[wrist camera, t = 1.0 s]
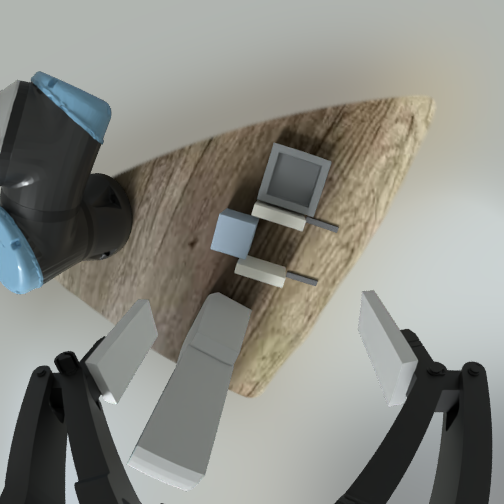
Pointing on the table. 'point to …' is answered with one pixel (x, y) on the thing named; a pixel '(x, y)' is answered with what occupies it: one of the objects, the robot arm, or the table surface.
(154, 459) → the electronic device
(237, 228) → the block
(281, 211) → the channel
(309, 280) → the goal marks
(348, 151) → the table surface
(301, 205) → the tray
